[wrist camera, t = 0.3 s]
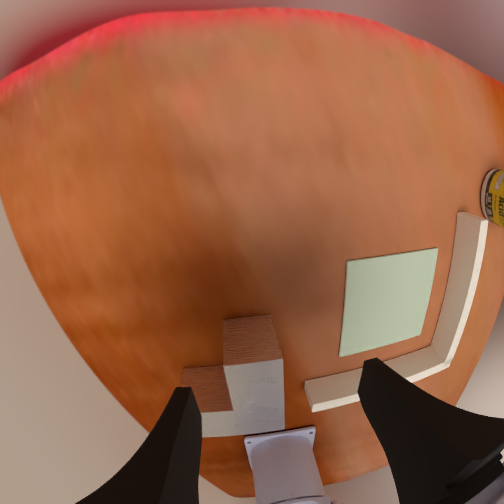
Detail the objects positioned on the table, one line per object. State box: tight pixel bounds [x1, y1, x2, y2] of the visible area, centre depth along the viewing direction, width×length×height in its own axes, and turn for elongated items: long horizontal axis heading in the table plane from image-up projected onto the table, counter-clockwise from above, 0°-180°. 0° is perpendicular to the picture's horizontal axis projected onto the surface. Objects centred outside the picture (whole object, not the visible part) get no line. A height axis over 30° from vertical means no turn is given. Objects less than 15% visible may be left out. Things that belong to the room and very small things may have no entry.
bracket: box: [181, 314, 285, 437], centre depth 19 cm, size 8×8×5 cm
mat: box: [338, 248, 438, 357], centre depth 21 cm, size 9×9×1 cm
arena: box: [304, 212, 488, 412], centre depth 19 cm, size 16×16×3 cm
